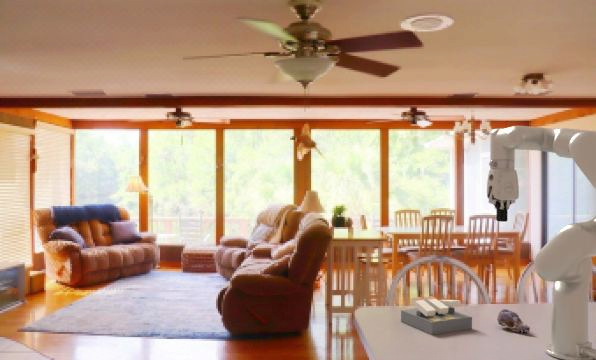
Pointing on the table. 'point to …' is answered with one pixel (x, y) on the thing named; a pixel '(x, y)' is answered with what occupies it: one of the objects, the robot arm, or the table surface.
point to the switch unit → (437, 321)
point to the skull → (511, 321)
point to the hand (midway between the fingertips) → (501, 221)
